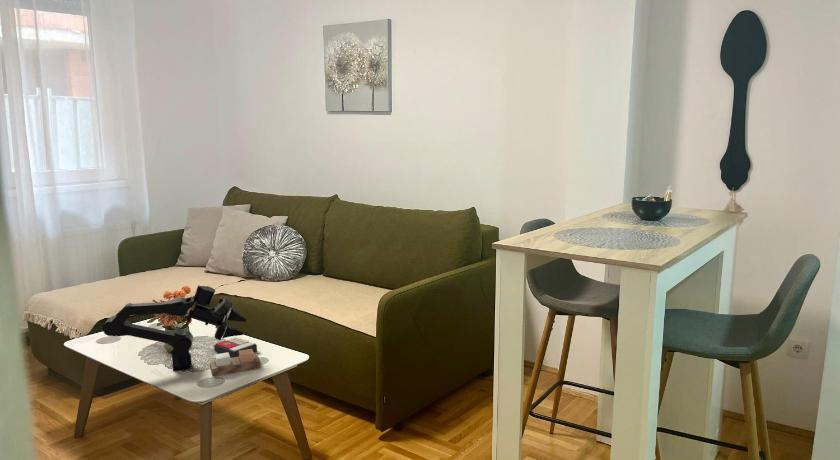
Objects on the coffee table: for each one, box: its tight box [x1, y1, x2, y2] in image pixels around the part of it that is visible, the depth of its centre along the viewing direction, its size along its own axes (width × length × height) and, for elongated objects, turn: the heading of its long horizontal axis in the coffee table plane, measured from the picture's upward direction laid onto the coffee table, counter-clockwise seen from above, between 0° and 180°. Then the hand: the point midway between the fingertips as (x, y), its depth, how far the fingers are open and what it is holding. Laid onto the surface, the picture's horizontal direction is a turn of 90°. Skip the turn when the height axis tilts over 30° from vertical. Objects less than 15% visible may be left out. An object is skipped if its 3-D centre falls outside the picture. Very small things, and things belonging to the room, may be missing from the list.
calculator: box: [213, 336, 258, 358], centre depth 258 cm, size 11×4×15 cm
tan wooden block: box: [239, 349, 255, 363], centre depth 242 cm, size 5×5×4 cm
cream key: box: [214, 353, 231, 367], centre depth 239 cm, size 5×5×4 cm
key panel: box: [209, 353, 262, 377], centre depth 241 cm, size 18×8×3 cm, turn 114°
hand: (244, 327), depth 246 cm, fingers open, 9 cm apart
